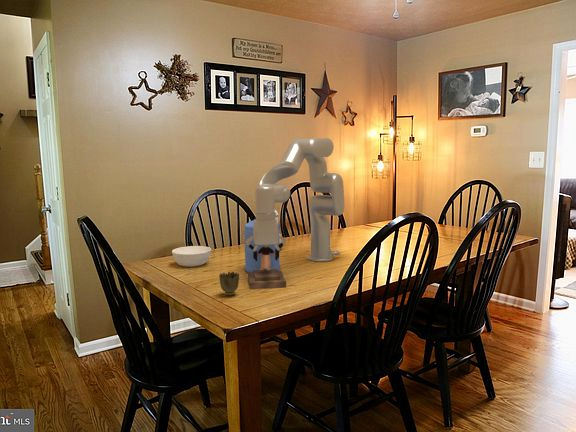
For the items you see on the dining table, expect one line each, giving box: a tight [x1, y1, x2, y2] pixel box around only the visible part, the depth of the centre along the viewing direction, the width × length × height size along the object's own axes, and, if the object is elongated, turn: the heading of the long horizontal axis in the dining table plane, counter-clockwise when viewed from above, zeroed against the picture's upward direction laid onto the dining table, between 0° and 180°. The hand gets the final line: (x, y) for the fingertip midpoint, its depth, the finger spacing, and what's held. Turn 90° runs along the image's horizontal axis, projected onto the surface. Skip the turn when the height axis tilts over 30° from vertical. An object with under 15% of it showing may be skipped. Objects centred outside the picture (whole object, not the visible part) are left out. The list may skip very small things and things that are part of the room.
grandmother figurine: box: [257, 245, 276, 270], centre depth 184 cm, size 8×4×13 cm, turn 95°
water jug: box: [243, 218, 281, 273], centre depth 202 cm, size 16×16×28 cm
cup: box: [218, 271, 240, 297], centre depth 169 cm, size 8×7×8 cm
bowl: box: [171, 245, 212, 268], centre depth 216 cm, size 18×18×7 cm
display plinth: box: [247, 269, 287, 290], centre depth 185 cm, size 14×16×4 cm
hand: (266, 259), depth 184 cm, fingers closed on grandmother figurine, 7 cm apart
